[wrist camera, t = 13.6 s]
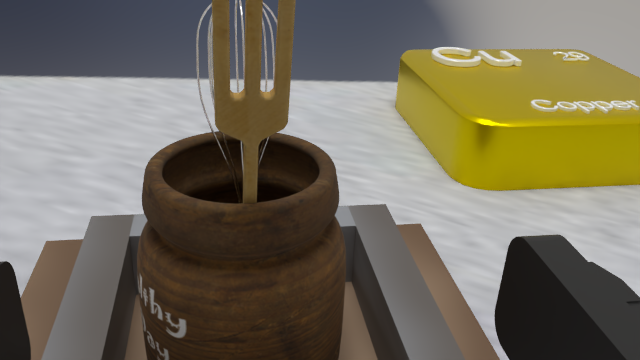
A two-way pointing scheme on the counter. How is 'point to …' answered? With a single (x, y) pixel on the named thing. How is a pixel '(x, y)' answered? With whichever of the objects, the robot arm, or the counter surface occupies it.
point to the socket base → (359, 302)
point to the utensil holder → (242, 221)
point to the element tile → (523, 116)
